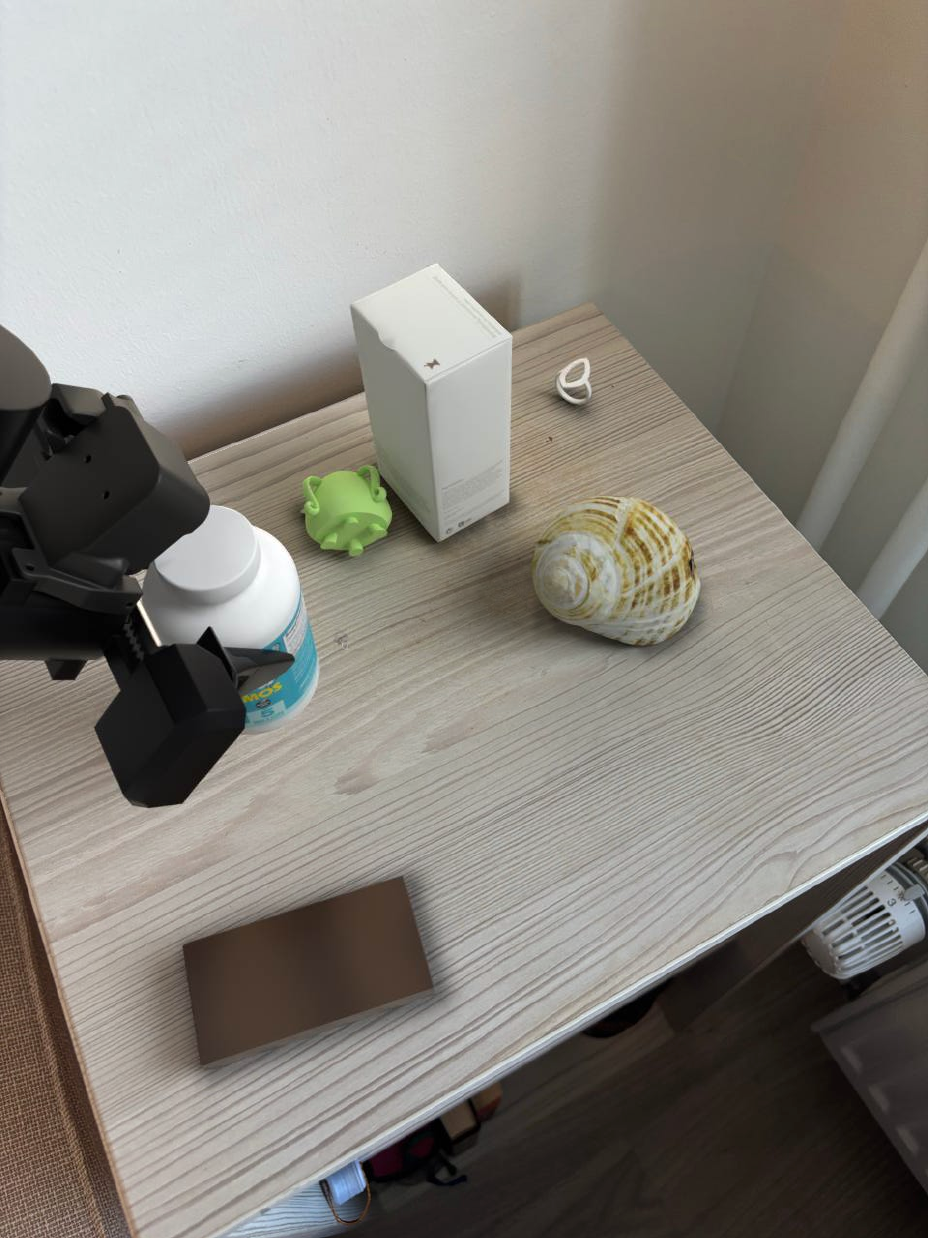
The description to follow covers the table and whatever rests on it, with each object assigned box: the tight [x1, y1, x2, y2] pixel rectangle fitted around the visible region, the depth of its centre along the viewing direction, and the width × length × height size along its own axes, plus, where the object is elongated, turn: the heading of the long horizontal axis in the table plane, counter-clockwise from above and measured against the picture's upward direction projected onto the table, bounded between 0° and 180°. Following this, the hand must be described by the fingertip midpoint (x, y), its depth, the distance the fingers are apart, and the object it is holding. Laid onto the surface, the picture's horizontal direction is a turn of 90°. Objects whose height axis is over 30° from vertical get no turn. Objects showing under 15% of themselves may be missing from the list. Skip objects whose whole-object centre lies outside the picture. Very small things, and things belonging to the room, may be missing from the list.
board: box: [181, 874, 437, 1070], centre depth 49 cm, size 12×6×2 cm, turn 108°
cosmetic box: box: [349, 263, 514, 543], centre depth 59 cm, size 8×7×16 cm
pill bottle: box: [141, 504, 320, 736], centre depth 47 cm, size 8×7×14 cm
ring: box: [553, 357, 593, 406], centre depth 69 cm, size 2×3×3 cm
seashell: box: [531, 495, 701, 646], centre depth 59 cm, size 10×10×10 cm
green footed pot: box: [300, 464, 393, 557], centre depth 62 cm, size 6×5×6 cm
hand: (257, 606), depth 47 cm, fingers closed on pill bottle, 7 cm apart
